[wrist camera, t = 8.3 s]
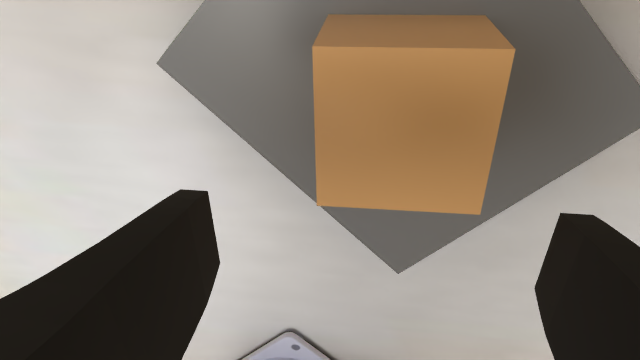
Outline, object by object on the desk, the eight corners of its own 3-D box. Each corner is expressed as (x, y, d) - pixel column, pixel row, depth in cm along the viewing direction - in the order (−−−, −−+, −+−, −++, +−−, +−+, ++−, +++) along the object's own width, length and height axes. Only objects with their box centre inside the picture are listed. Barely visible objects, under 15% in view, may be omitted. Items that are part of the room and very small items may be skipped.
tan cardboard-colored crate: (485, 15, 15) (515, 49, 11) (461, 154, 17) (480, 214, 14) (328, 14, 15) (312, 46, 12) (329, 148, 18) (316, 205, 15)
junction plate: (646, 104, 16) (704, 148, 13) (397, 259, 22) (399, 315, 19) (398, -243, 12) (402, -288, 9) (167, 55, 18) (123, 86, 15)
